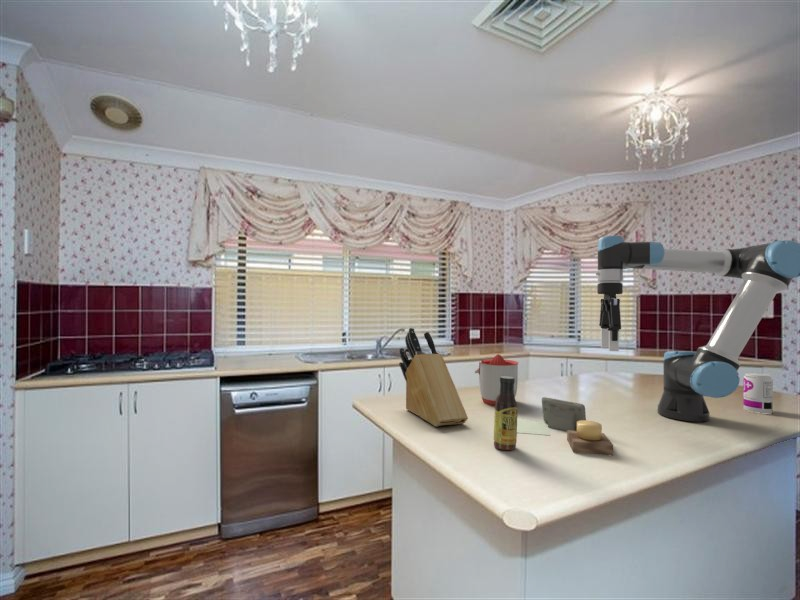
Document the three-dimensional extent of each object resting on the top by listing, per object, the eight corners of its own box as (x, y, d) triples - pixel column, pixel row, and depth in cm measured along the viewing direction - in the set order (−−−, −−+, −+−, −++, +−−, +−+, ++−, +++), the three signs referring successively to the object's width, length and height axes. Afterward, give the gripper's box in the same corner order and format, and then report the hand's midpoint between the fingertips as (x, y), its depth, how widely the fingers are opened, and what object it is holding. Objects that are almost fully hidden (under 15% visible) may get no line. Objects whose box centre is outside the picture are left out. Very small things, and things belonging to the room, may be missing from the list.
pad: (544, 420, 140) (544, 419, 140) (550, 436, 123) (550, 435, 123) (505, 417, 143) (505, 416, 143) (506, 432, 126) (506, 431, 126)
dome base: (603, 443, 117) (603, 433, 117) (613, 456, 107) (613, 444, 107) (567, 440, 120) (567, 430, 120) (573, 452, 110) (573, 441, 110)
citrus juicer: (477, 397, 173) (477, 350, 173) (519, 400, 167) (519, 352, 167) (471, 405, 158) (471, 355, 158) (516, 410, 152) (517, 357, 152)
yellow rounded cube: (598, 442, 116) (598, 421, 116) (604, 450, 110) (604, 428, 110) (574, 440, 117) (574, 419, 117) (578, 448, 111) (579, 426, 111)
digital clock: (588, 431, 128) (589, 402, 128) (577, 435, 123) (578, 406, 123) (549, 420, 139) (550, 393, 139) (536, 423, 134) (537, 396, 134)
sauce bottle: (502, 453, 109) (503, 380, 109) (489, 445, 115) (489, 376, 115) (522, 449, 112) (522, 378, 112) (507, 442, 117) (508, 374, 117)
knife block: (421, 401, 164) (422, 326, 164) (468, 426, 132) (469, 332, 132) (396, 404, 160) (396, 326, 160) (438, 430, 127) (439, 333, 127)
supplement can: (748, 416, 147) (749, 375, 147) (739, 410, 155) (739, 371, 155) (777, 418, 144) (777, 377, 144) (766, 412, 152) (766, 373, 152)
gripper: (590, 284, 146) (589, 345, 146) (606, 280, 124) (605, 352, 124) (613, 283, 144) (612, 346, 144) (633, 280, 123) (632, 353, 122)
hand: (609, 349), depth 134 cm, fingers open, 10 cm apart
